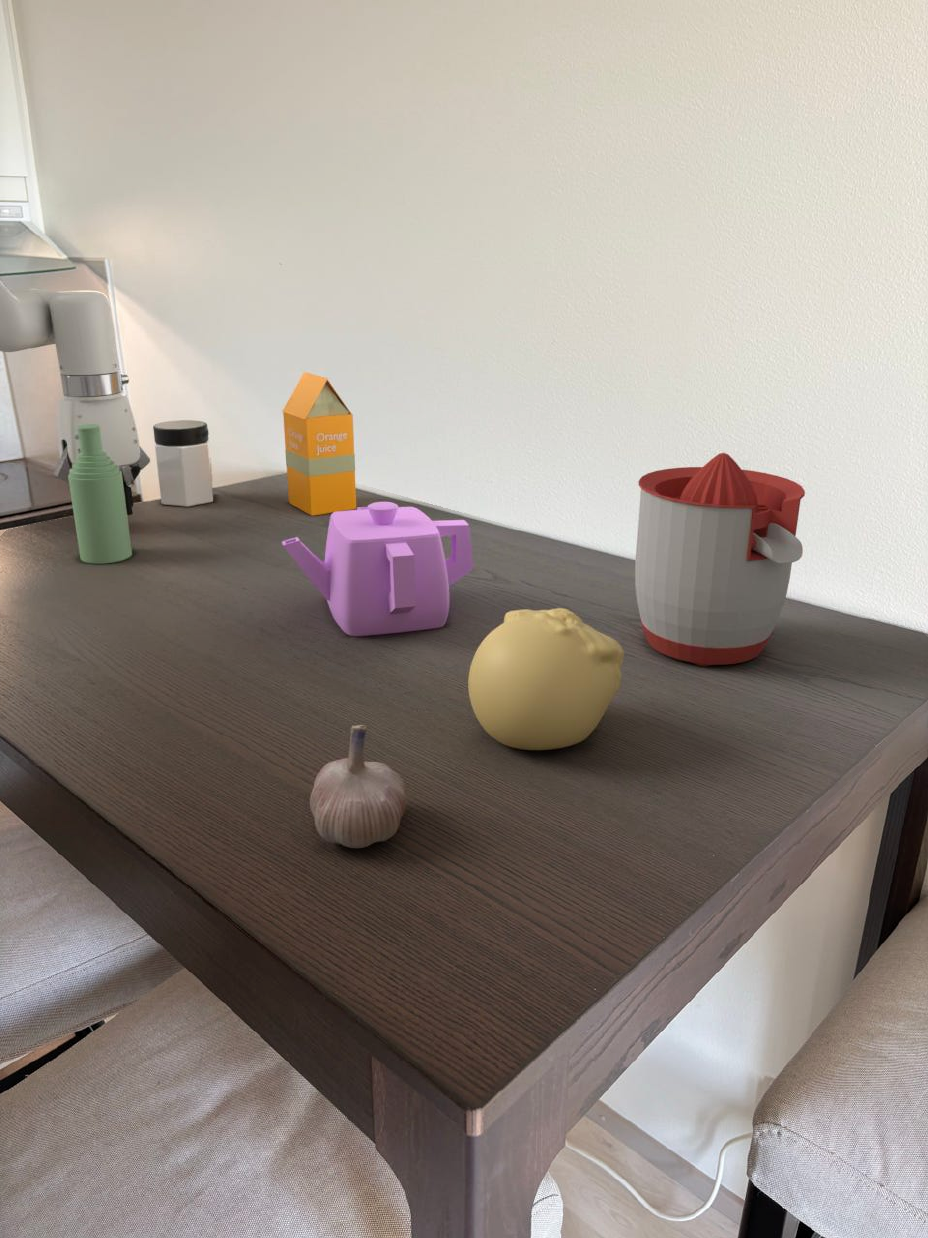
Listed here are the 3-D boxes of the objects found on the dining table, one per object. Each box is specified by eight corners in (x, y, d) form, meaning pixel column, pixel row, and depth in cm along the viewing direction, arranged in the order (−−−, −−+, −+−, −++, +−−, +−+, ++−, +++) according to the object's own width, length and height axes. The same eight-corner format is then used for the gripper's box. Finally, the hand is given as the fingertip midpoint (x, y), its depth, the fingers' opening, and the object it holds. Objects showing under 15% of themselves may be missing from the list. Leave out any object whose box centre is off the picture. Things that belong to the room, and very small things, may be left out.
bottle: (70, 561, 123) (49, 429, 117) (98, 547, 129) (80, 420, 122) (114, 565, 122) (96, 431, 115) (141, 550, 127) (125, 422, 121)
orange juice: (332, 496, 155) (326, 370, 147) (357, 508, 148) (352, 376, 140) (287, 503, 151) (279, 373, 143) (310, 515, 144) (303, 380, 136)
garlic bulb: (364, 787, 72) (361, 692, 70) (435, 824, 68) (434, 724, 65) (286, 830, 67) (278, 729, 64) (357, 873, 63) (352, 766, 60)
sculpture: (637, 732, 81) (647, 614, 77) (541, 783, 73) (547, 654, 69) (537, 689, 89) (541, 579, 85) (441, 731, 81) (441, 612, 77)
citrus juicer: (714, 698, 87) (738, 482, 80) (596, 634, 101) (607, 446, 94) (830, 662, 94) (862, 462, 87) (705, 608, 108) (723, 431, 101)
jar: (214, 505, 149) (207, 428, 145) (159, 508, 147) (150, 430, 143) (214, 492, 157) (208, 418, 153) (163, 494, 155) (155, 420, 151)
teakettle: (412, 652, 96) (410, 534, 92) (277, 622, 104) (269, 512, 99) (487, 600, 110) (488, 496, 106) (363, 577, 118) (360, 478, 113)
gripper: (134, 377, 138) (150, 501, 145) (18, 390, 127) (41, 523, 134) (161, 382, 133) (176, 509, 140) (43, 395, 122) (66, 533, 129)
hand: (110, 515), depth 137 cm, fingers closed on cap, 3 cm apart
